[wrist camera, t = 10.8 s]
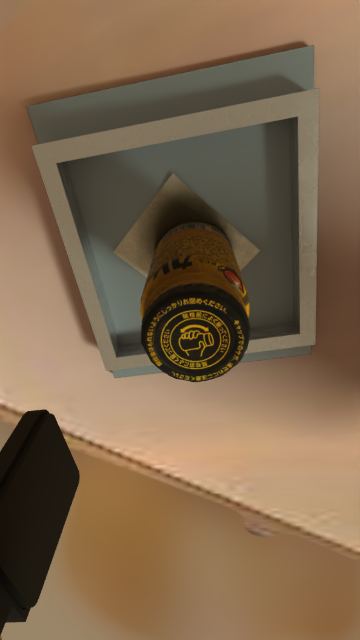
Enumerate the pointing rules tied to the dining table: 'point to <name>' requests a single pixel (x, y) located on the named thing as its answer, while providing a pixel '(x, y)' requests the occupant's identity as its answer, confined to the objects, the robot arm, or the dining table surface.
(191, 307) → the condiment
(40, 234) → the dining table surface
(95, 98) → the board
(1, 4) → the dining table surface
